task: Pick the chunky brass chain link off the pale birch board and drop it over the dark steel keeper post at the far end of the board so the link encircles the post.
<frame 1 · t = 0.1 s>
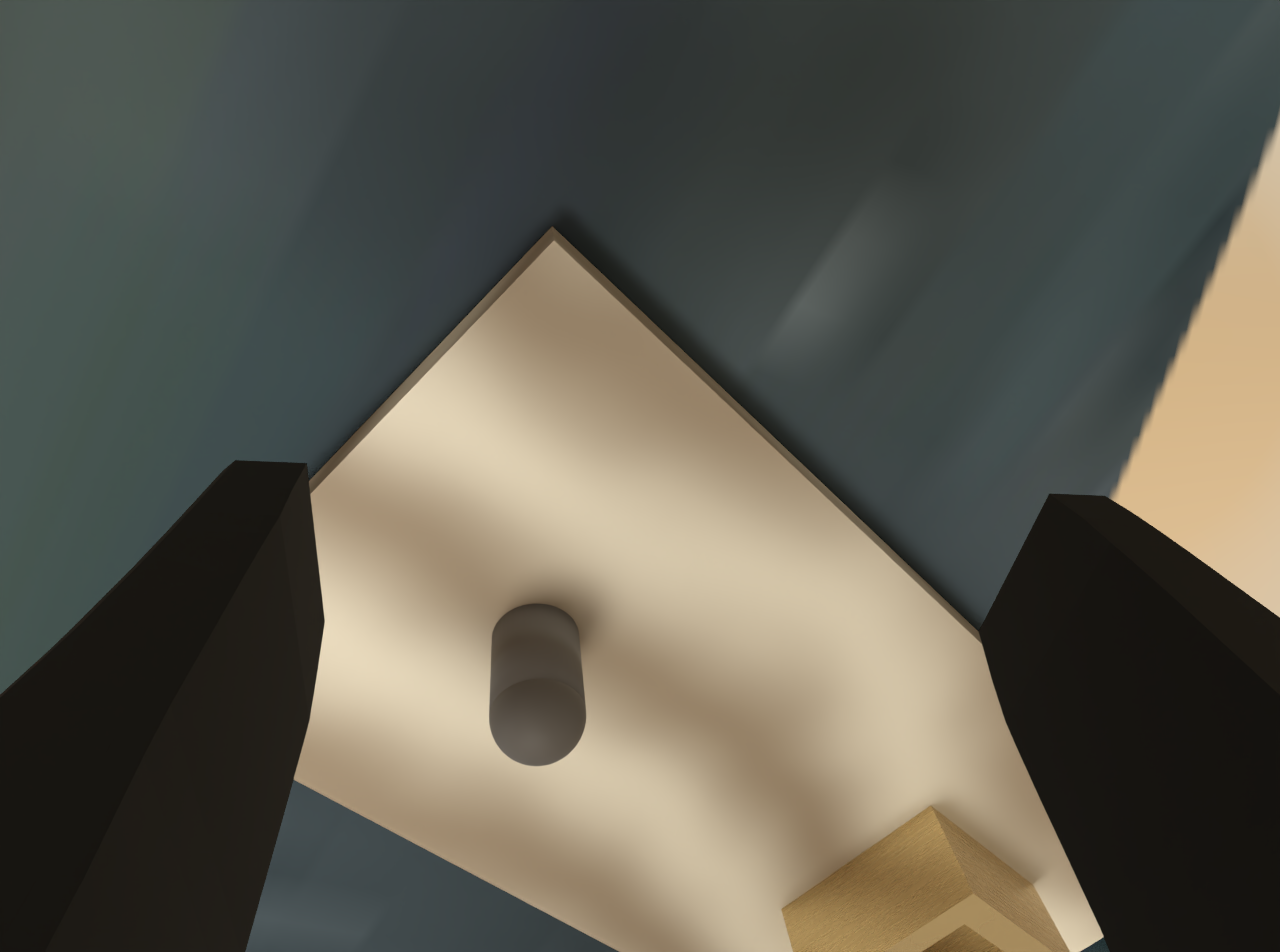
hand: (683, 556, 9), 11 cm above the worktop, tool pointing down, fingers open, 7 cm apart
keeper board: (750, 764, 26), on the worktop
brass link: (909, 896, 28), point 1 cm above the worktop, touching keeper board
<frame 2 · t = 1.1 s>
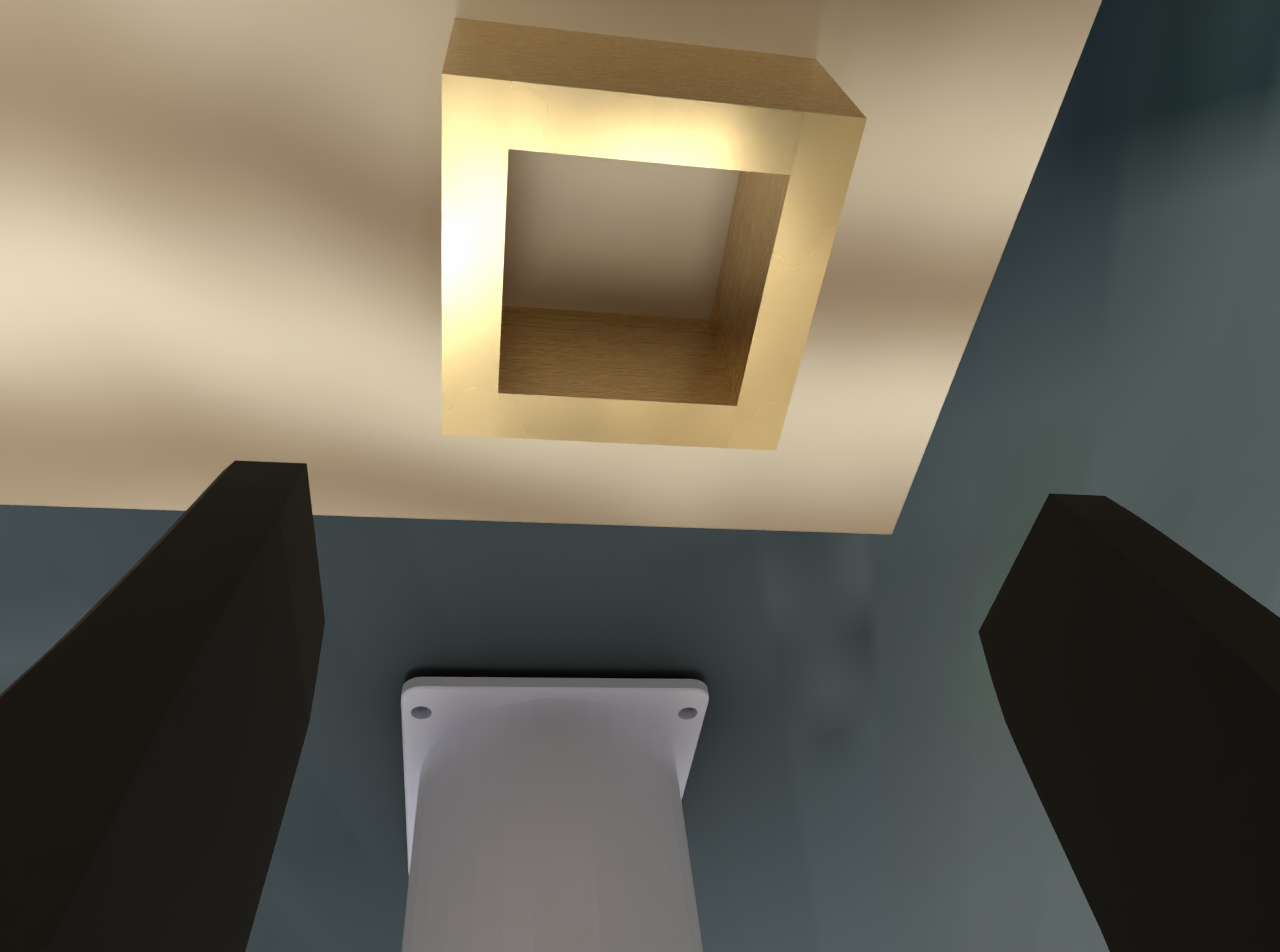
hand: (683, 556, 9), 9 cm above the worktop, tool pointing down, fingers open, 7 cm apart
keeper board: (195, 152, 16), on the worktop
brass link: (619, 212, 16), point 1 cm above the worktop, touching keeper board
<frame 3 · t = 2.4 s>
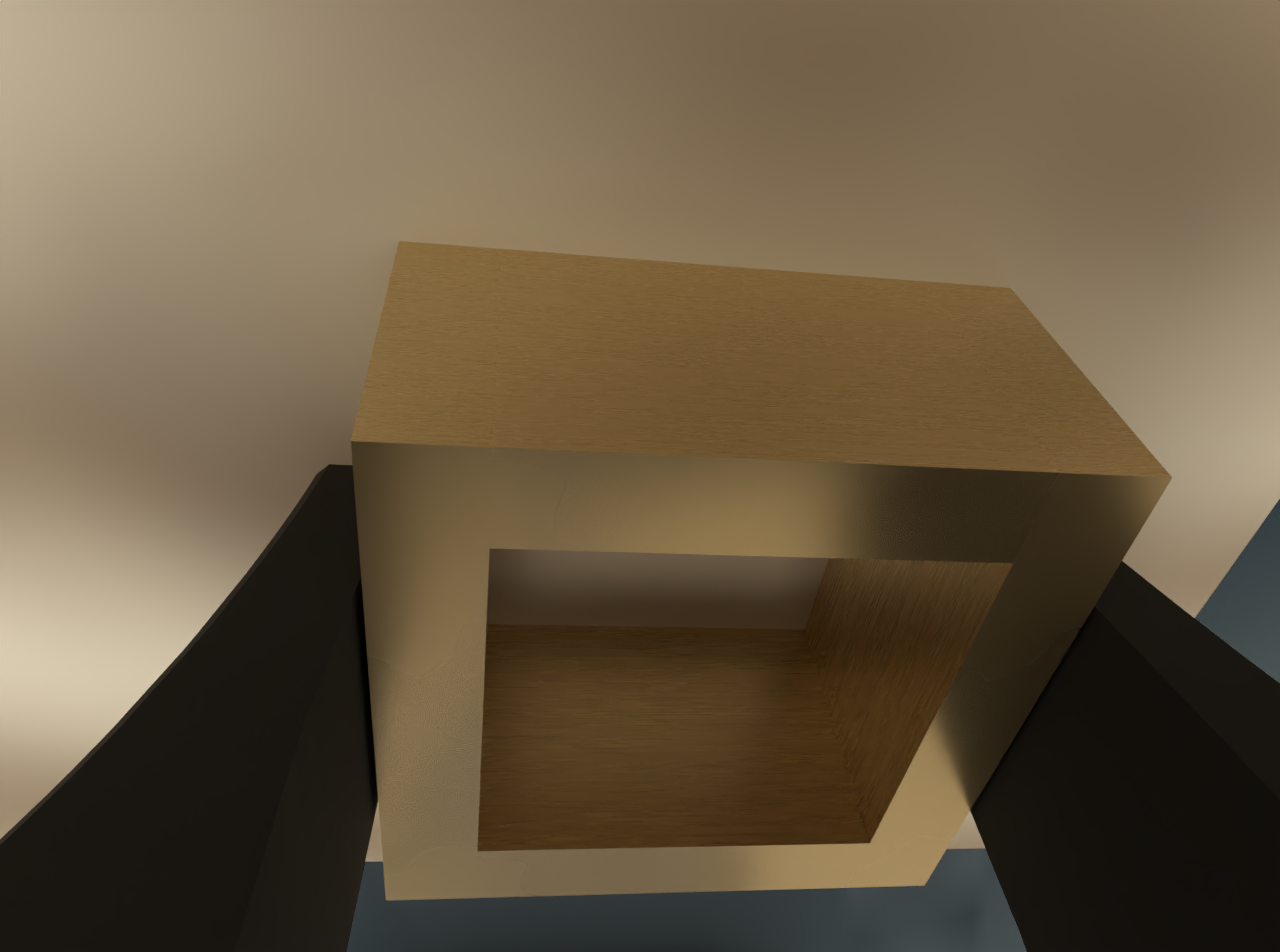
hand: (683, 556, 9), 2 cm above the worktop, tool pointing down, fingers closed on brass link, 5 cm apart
brass link: (673, 504, 10), point 1 cm above the worktop, touching gripper, keeper board
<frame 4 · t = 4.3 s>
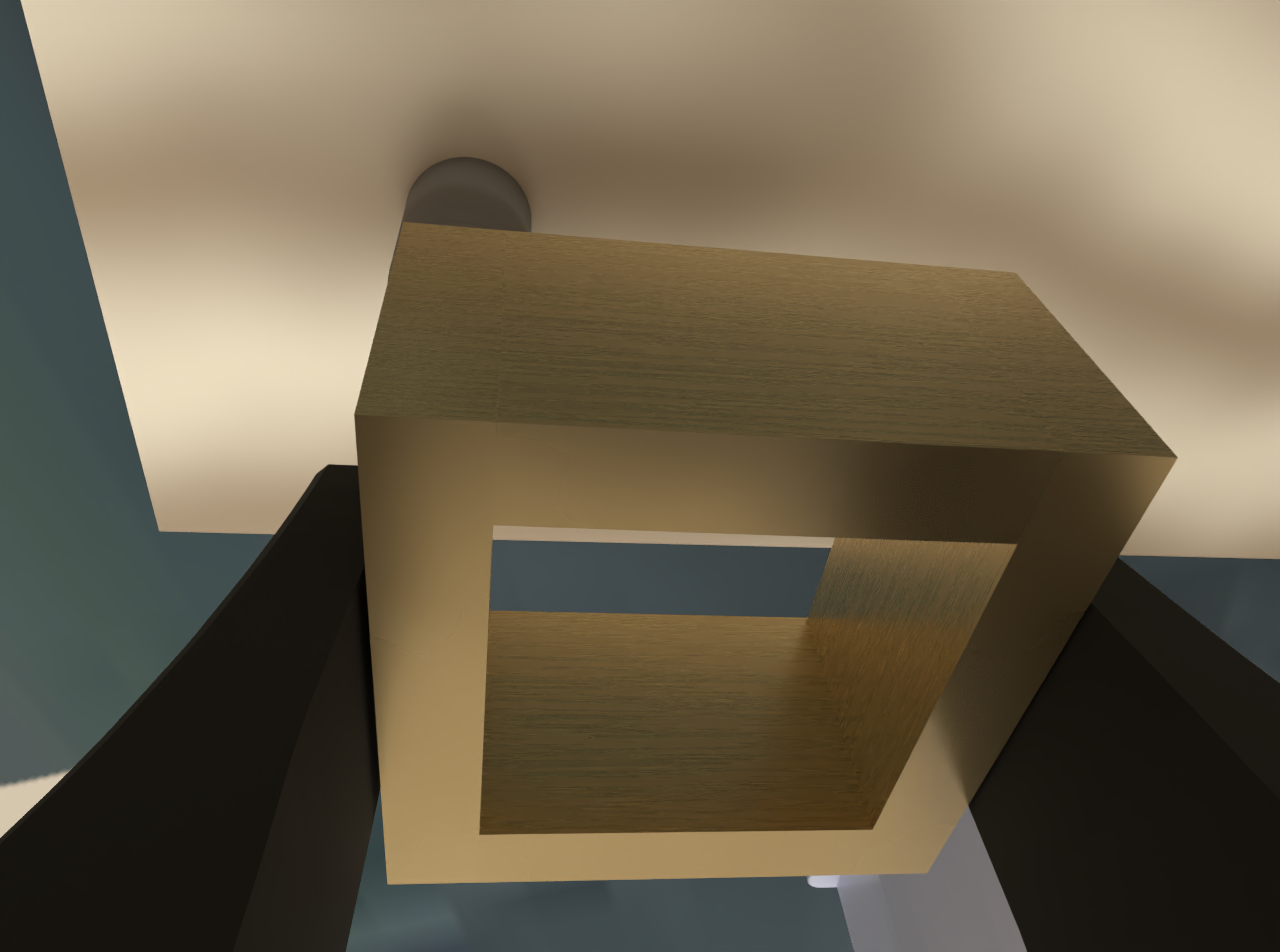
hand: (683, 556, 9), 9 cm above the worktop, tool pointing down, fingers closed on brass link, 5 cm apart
keeper board: (916, 228, 17), on the worktop
brass link: (677, 490, 10), point 8 cm above the worktop, touching gripper
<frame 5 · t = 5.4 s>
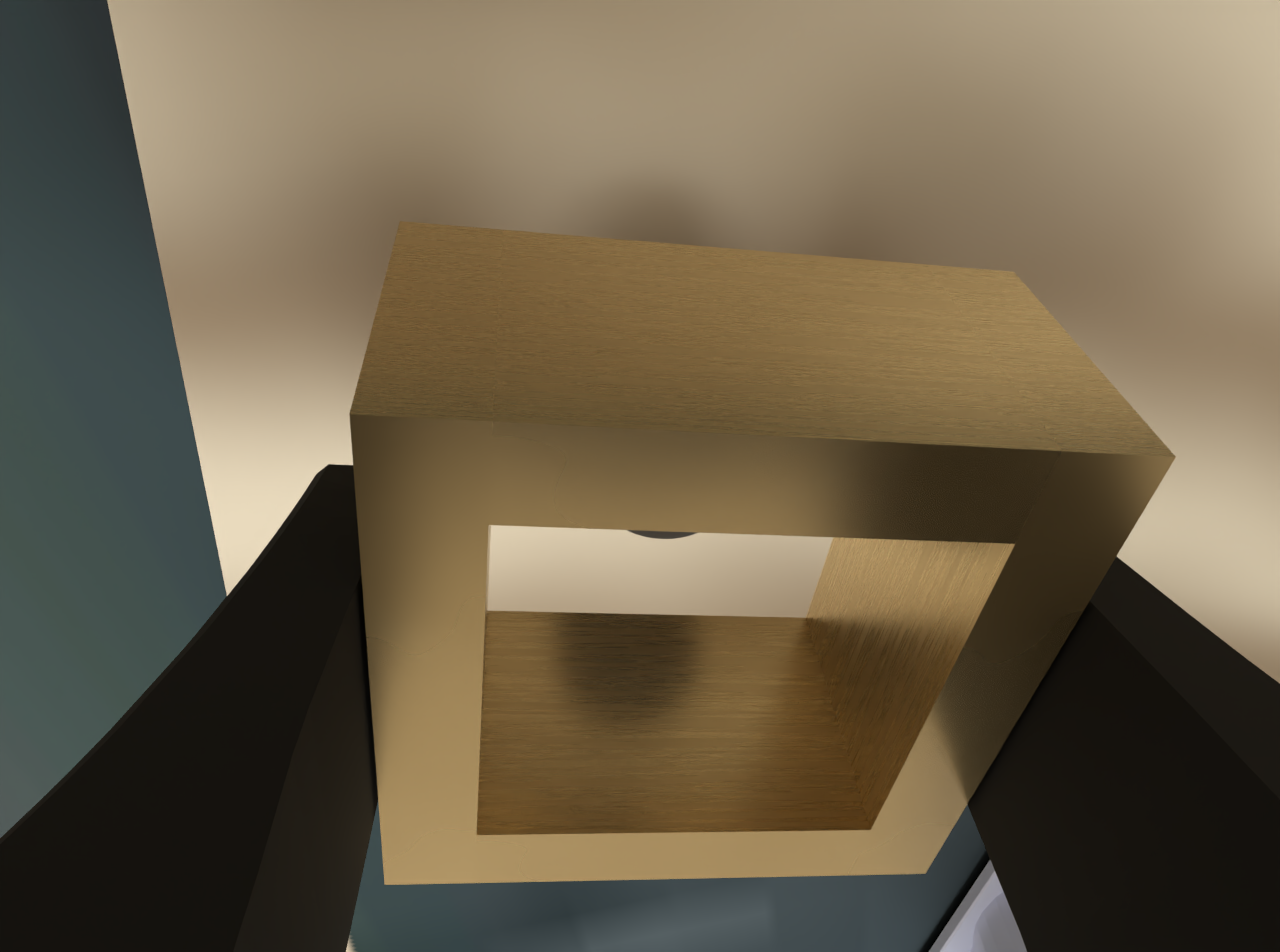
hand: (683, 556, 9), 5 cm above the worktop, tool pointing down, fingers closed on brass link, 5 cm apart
keeper board: (1144, 339, 15), on the worktop
brass link: (674, 489, 10), point 4 cm above the worktop, touching gripper
when the fingers open (3 cm above the worktop, at t = 6.5 s): brass link drops 1 cm, resting on keeper board.
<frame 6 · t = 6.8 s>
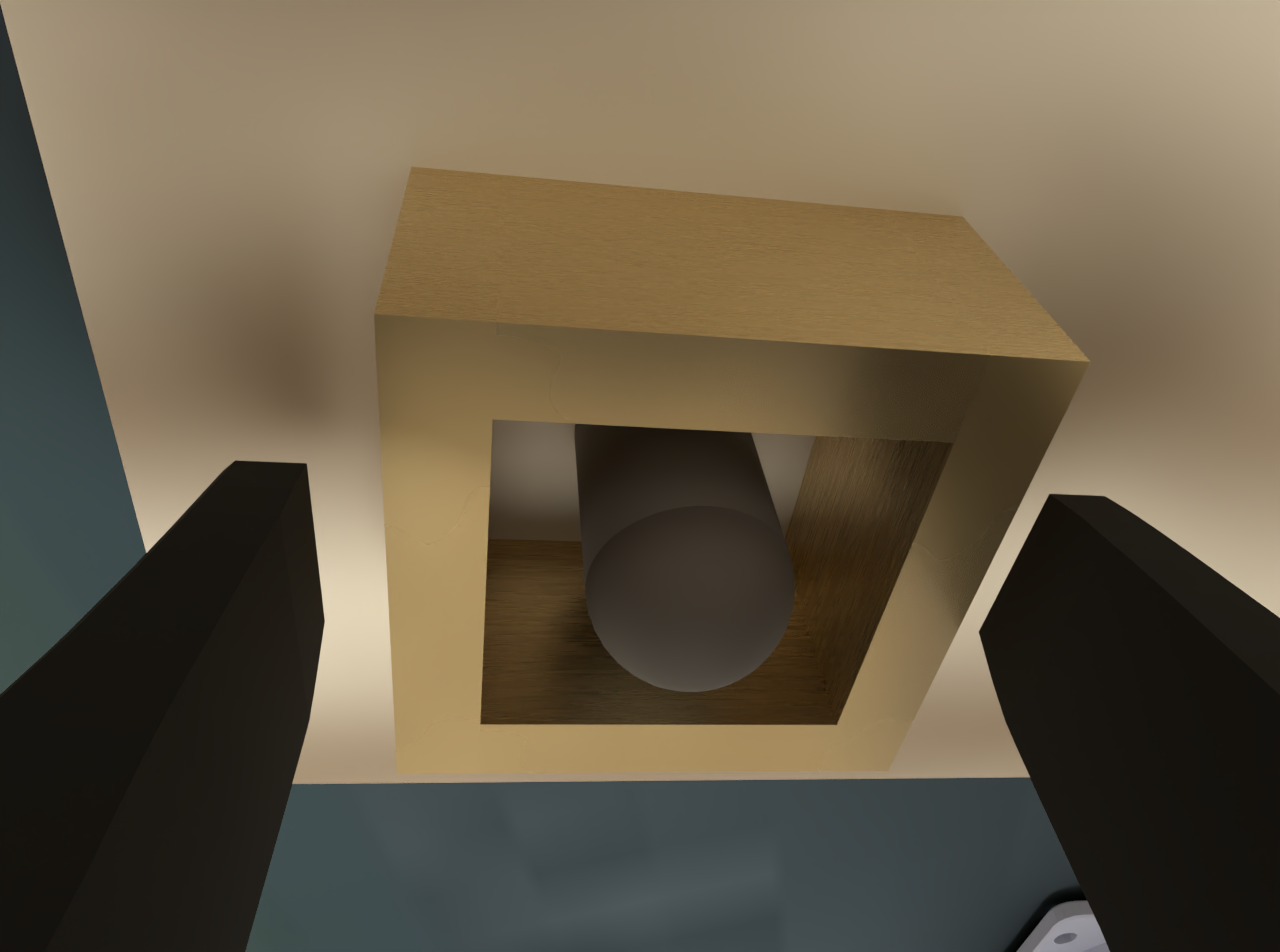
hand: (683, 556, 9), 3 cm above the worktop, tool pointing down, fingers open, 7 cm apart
keeper board: (1223, 416, 13), on the worktop
brass link: (659, 422, 11), point 1 cm above the worktop, touching keeper board
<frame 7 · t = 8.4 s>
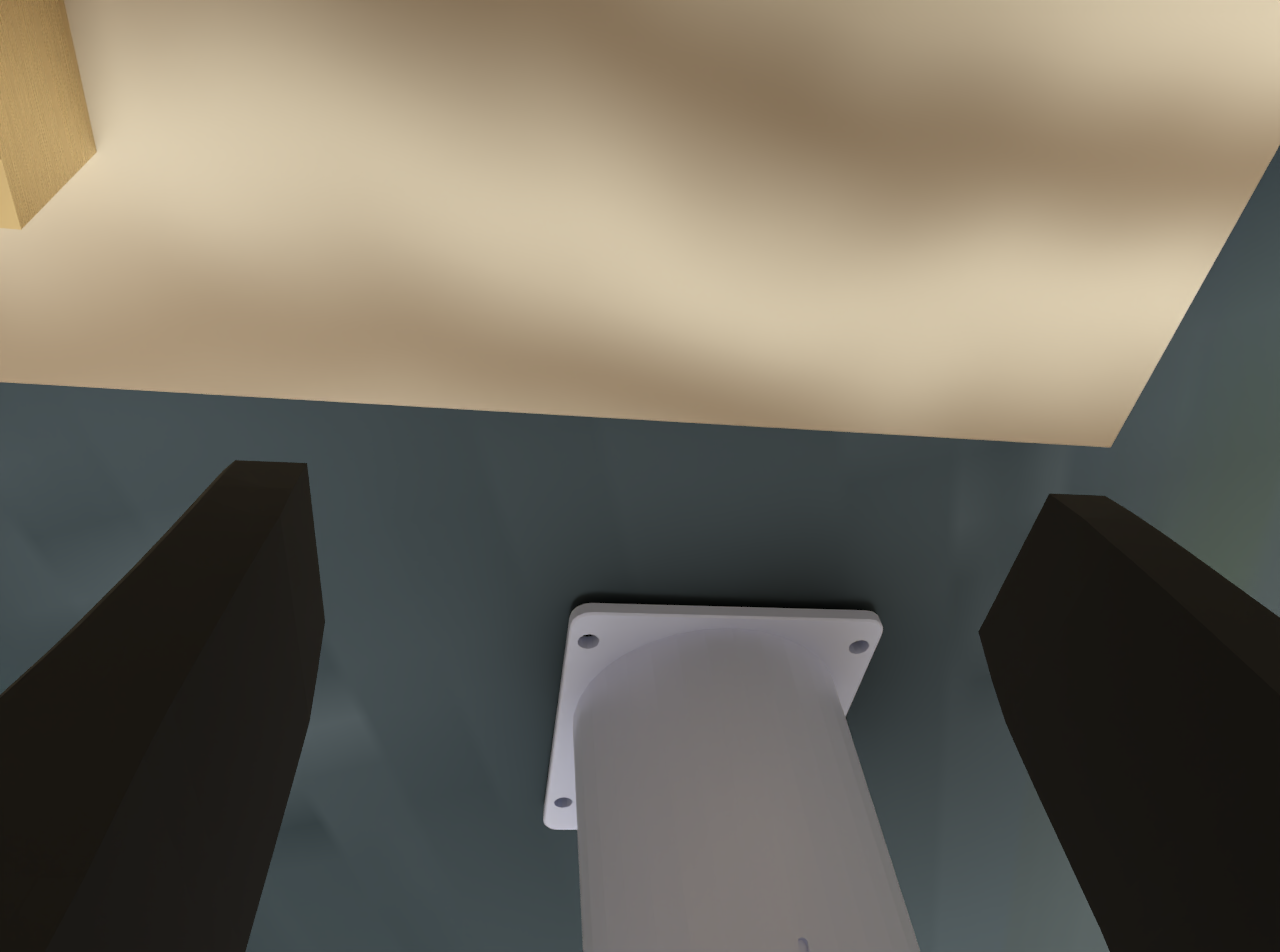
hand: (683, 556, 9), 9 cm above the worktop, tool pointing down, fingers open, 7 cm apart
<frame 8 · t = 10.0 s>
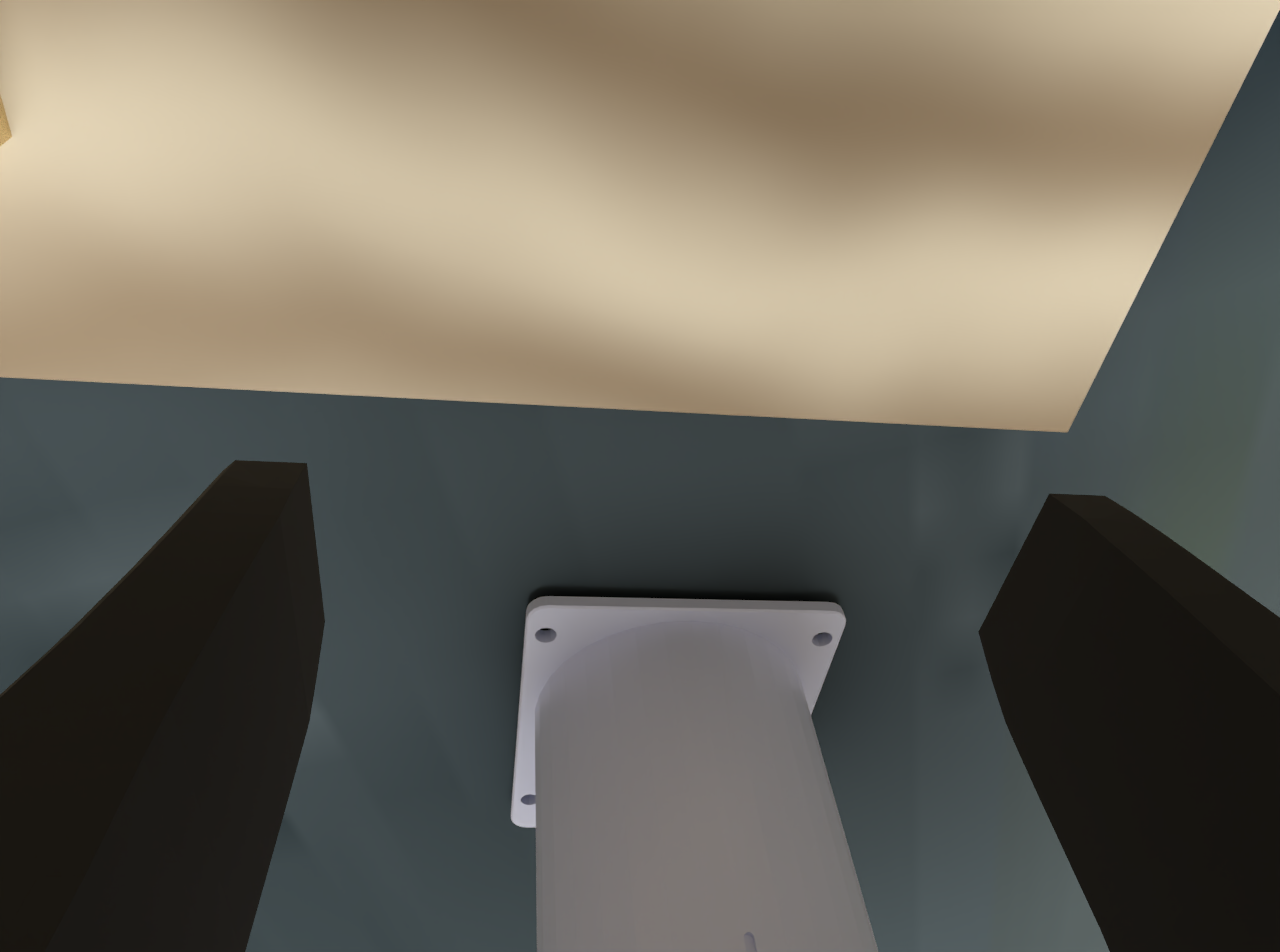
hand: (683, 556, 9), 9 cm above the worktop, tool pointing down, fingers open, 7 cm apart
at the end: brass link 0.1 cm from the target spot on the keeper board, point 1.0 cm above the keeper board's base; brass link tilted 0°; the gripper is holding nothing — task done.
